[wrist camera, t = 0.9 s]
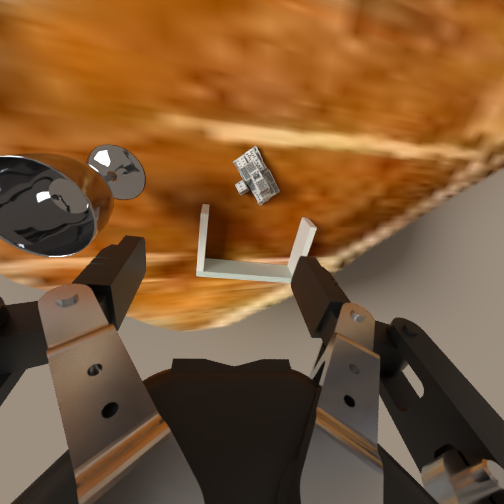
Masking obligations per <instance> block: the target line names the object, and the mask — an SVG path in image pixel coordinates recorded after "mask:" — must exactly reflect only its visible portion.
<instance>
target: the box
mask: <svg viewBox="0 0 504 504" xmlns="http://www.w3.org/2000/svg"><path fill="white" fill-rule="evenodd" d="M209 206H210V205H208V204H203V205H202V210H201V216H200V230H199V244H198V259H197V273H196V276H200V277H214V278H228V279H242V280H256V281H270V282H284V283H291V279H292V276H293V273H294V270H295V268H296V265H297V262H298V260H299V258H300V256H307V255H308V252H309V249H310V246H311V244H312V241H313V238H314V235H315V232H316V229H317V227H316V226H315V225H314V224H313V223H312V222H311V221H310V220H309V219H308V218H304V217H302V220H301V223H300V226H299V229H298V233H297V236H296V239H295V242H294V246H293V249H292V252H291V255H290V259H289V262H288V265H278V264H267V263H255V262H244V261H233V260H221V259H210V258H205V251H206V239H207V228H208V217H209Z"/></svg>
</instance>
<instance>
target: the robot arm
mask: <svg viewBox="0 0 504 504" xmlns="http://www.w3.org/2000/svg"><path fill="white" fill-rule="evenodd" d="M145 271H146V253H145V240H144V238H143V237H136V236H127V235H126V236H125V237H124V238H123V239H122V240H121V242H120V243H119V244H118V245H113V244H112V245H110V246H108V247H106V248H104V249H102V250H101V251H100V252H99V253H98V254H97V256H96V258H94V259H93V260H92V261H91V262H90V264H89V265H88V266H87V267H86V268H85V269H84V270H83V271H82V272H81V273H80V275H79V276H78V277H77V278H76V279H75V280H74V281H73V282H72V284H67V285H63V286H59V287H56V288H54V289H52V290H50V291H48V292H46V293H45V294H44V295H43V296H42V297H41V298H40V299H39V301H34V302H27V303H19V304H12V305H5V304H4V301H3V299H2V298H1V297H0V406H1V405H2V403H3V402H4V400H5V399H6V397H7V396H8V395H9V393H10V392H11V390H12V389H13V387H14V386H15V385H16V383H17V382H18V380H19V379H20V377H21V376H22V374H23V373H24V372H25V370H26V369H28V368H31V367H35V366H40V365H44V364H48V363H49V366H50V370H51V374H52V379H53V383H54V388H55V392H56V397H57V401H58V405H59V410H60V414H61V418H62V422H63V427H64V431H65V435H66V440H67V444H68V448H69V449H68V450H67V451H66V452H65V453H64V454H63V455H62V456H61V457H60V458H59V459H58V460H56V461H55V462H54V463H53V464H52V465H51V466H50V467H49V468H48V469H47V470H46V471H45V472H44V473H43V474H42V475H41V476H40V477H39V478H37V479H36V480H35V481H34V482H33V483H32V484H31V485H30V486H29V487H28V488H27V489H26V490H25V491H24V492H23V493H22V494H21V495H20V496H19V497H18V498H16V499H15V500H14V501H13V502H12V503H11V504H504V420H503V419H502V418H501V417H500V416H499V415H498V414H497V413H496V411H495V410H494V409H493V408H492V407H491V406H490V405H489V404H488V403H487V401H486V400H485V399H484V398H483V397H482V396H481V395H480V393H479V392H478V391H477V390H476V389H475V388H474V387H473V386H472V384H471V383H470V382H469V381H468V380H467V379H466V378H465V377H464V376H463V374H462V373H461V372H460V371H459V370H458V369H457V368H456V366H454V364H453V363H452V362H451V361H450V360H449V359H448V357H447V356H446V355H445V354H444V353H443V352H442V351H441V350H440V349H439V347H438V346H437V345H436V344H435V343H434V342H433V341H432V340H431V338H430V337H429V336H428V335H427V334H426V333H425V332H424V331H423V330H422V329H421V328H420V327H419V326H418V325H416V324H415V323H413V322H411V321H409V320H407V319H404V318H395V319H393V321H392V322H391V323H390V325H389V324H385V323H382V322H379V321H376V320H374V318H373V316H372V314H371V313H370V312H369V311H368V310H366V309H365V308H363V307H362V306H360V305H357V304H355V303H351V302H350V301H349V299H348V298H347V296H346V295H345V293H344V292H343V291H342V289H341V288H340V287H339V286H338V283H337V282H336V281H335V279H334V278H333V276H332V275H331V273H330V272H328V271H327V270H326V269H325V268H324V267H321V265H320V264H319V262H318V261H317V259H316V258H315V257H308V256H300V258H299V260H298V262H297V265H296V268H295V270H294V273H293V276H292V279H291V289H292V291H293V294H294V296H295V298H296V301H297V303H298V306H299V308H300V311H301V313H302V315H303V318H304V320H305V323H306V325H307V327H308V330H309V332H310V335H311V337H312V338H321V339H322V343H321V345H320V347H319V350H318V353H317V356H316V359H315V361H314V364H313V367H312V370H311V373H310V376H309V377H308V376H306V375H304V374H302V373H300V372H298V371H296V370H293V369H291V367H290V363H289V360H288V359H286V360H285V359H282V360H281V359H262V360H258V361H254V362H250V363H246V364H243V365H239V366H230V365H226V364H222V363H218V362H214V361H211V360H207V359H173V362H172V368H171V369H168V370H164V371H162V372H159V373H157V374H154V375H152V376H150V377H148V378H147V379H145V380H144V381H142V380H141V378H140V376H139V374H138V372H137V370H136V368H135V366H134V364H133V362H132V360H131V358H130V356H129V354H128V352H127V350H126V348H125V346H124V344H123V342H122V340H121V338H120V336H119V335H118V333H117V331H118V330H119V328H120V325H121V323H122V321H123V319H124V317H125V315H126V313H127V311H128V309H129V307H130V305H131V303H132V300H133V298H134V296H135V294H136V292H137V290H138V288H139V286H140V284H141V282H142V280H143V278H144V275H145ZM408 364H409V365H410V367H411V368H412V369H413V371H414V372H415V374H416V375H417V376H418V378H419V379H420V381H421V382H422V384H423V387H424V395H423V396H422V397H421V398H419V396H418V395H417V393H416V392H415V390H414V389H413V387H412V386H411V384H410V383H409V381H408V380H407V378H406V377H405V375H404V374H403V372H402V370H404V369H405V367H406V366H407V365H408ZM379 394H380V396H381V398H382V400H383V402H384V404H385V406H386V408H387V409H388V412H389V414H390V415H391V417H392V419H393V421H394V423H395V425H396V427H397V429H398V431H399V433H400V435H401V436H402V439H403V440H404V442H405V444H406V446H407V448H408V450H409V452H410V454H411V456H412V458H413V459H414V461H415V463H416V465H417V467H418V469H419V471H420V473H421V478H422V483H423V486H424V488H423V487H422V486H421V485H420V484H419V483H418V482H417V481H416V480H415V479H414V478H413V477H412V476H411V475H410V474H409V473H408V472H407V471H406V470H405V469H404V468H402V467H401V466H400V465H399V463H398V462H397V461H396V460H394V458H393V457H391V456H390V455H389V454H388V453H387V452H386V451H385V450H384V449H383V448H382V447H381V446H380V445H379V444H378V443H377V441H378V438H377V437H378V410H379Z"/></svg>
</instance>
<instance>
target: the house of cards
mask: <svg viewBox="0 0 504 504" xmlns="http://www.w3.org/2000/svg"><path fill="white" fill-rule="evenodd" d="M244 153H245V152H244ZM233 163H234V164H235V165H236V167H237V169H238V171H239V172H240V175H241V177H242V178H243V180H241V181H240V182H238V183H236V185H235V186H236V188H237V190H238V192H239V194H240V195H243V194H245V193H246V192H248V191H249V188H248V187H247V186H246V185H247V184H248V185H249V187H250V189H251V191H252V193H253V194H254V196H255V197H256V200H257V201H258V202H257V203H258V204H259V205H261V204H263V203H264V202H266V201H268V200H269V199H270V198H271V197H272V196H274V195H276V194H277V193H278V192H280V190H279V189H278V187H277V185H276V183H275V180H274V178H273V176H272V174H271V172H270V170H269V169H267V167H266V165H265V164H264V162H263V159H262V157H261V154H260V152H259V150H258V149H257V147H256V146H255V147H254V148H252V149H251V150H249V151H247V152H246V153H245V154H243V155H242V156H241V157H239V158H238V159H237V160H235V161H234V162H233ZM273 181H274V182H273ZM245 183H246V184H245Z"/></svg>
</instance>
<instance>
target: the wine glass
mask: <svg viewBox="0 0 504 504" xmlns="http://www.w3.org/2000/svg"><path fill="white" fill-rule="evenodd" d="M144 185H145V174H144V170H143V168H142V166H141V164H140V162H139V161H138V160H137V158H136V157H135V156H134V155H133V154H131V153H130V152H129V151H127V150H126V149H124V148H122V147H119V146H116V145H101V146H98V147H96V148H95V149H94V150H92V151H91V153H90V154H89V156H88V159H87V163H86V162H83V161H81V160H78V159H76V158H73V157H69V156H65V155H60V154H53V153H40V152H34V153H19V154H10V155H3V156H0V239H2V240H3V241H5V242H6V243H8V244H10V245H12V246H14V247H15V248H17V249H20V250H22V251H25V252H27V253H31V254H34V255H38V256H44V257H66V256H70V255H73V254H75V253H78V252H80V251H81V250H83V249H84V248H85V247H87V246H88V245H89V244H90V243H91V242H92V241H94V240H95V238H96V237H97V236H98V235H99V234H100V233H101V232H102V231H103V229H104V228H105V227H106V225H107V223H108V222H109V219H110V217H111V215H112V212H113V208H114V199H118V200H129V199H133V198H135V197H136V196H138V195H139V194H140V193H141V192H142V190H143V188H144Z"/></svg>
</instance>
